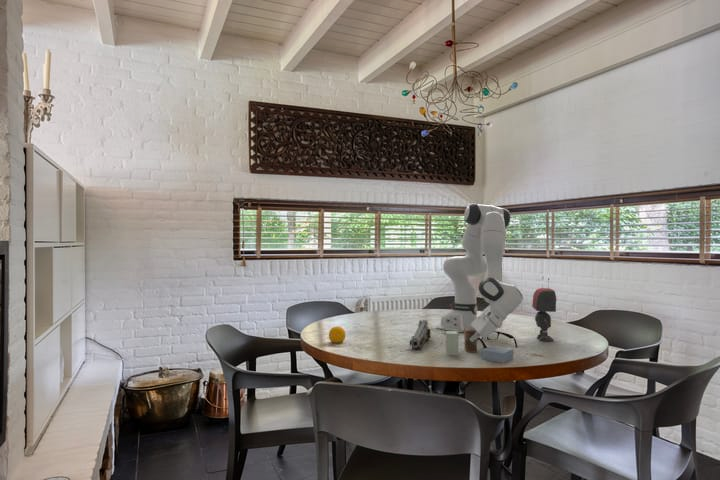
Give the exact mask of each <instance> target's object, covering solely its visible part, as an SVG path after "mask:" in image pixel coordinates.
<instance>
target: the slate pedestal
mask: <svg viewBox="0 0 720 480" xmlns="http://www.w3.org/2000/svg"><path fill="white" fill-rule="evenodd" d="M481 359H482V360H485V361H492V362H497V363H502V364H504V363H506V362H508V361H510V360H512V359H514V350H513V348H509V347H508V348H507V347H503V346H502V347H501V346H496V345H490V346H488V347H487V348H482V349H481Z"/></svg>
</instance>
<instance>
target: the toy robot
mask: <svg viewBox="0 0 720 480" xmlns="http://www.w3.org/2000/svg"><path fill="white" fill-rule="evenodd" d="M542 279H544V277H542ZM547 280H548V281H549V280H550V278H548V279H547ZM547 286H548V287H543V286H542V287H540V288H537V289H536V290H535V291H534V293H533V294H532V295H533V296H532V305H531V306H532V308H533V309H534V310H535V311H537V312H536V313H535V314H536V315H535V316H534V317H535V318H534V320H535V323H536V327H538V328H540V330H539V334H537V337H536V338H537V340H538V342H543V343H553V342H555V340H554V338H553V337H551V336H549V335H548V334H549V333H548V329H550V328H551V327H552V317H551V315H550V314H549V313H551V312H552V313H553V312H554V313H555V312H557V296H556V291H555V290H554V289H552V288H549V286H550V285H549V283H548V285H547ZM548 312H549V313H548Z"/></svg>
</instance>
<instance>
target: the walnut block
mask: <svg viewBox="0 0 720 480" xmlns="http://www.w3.org/2000/svg"><path fill="white" fill-rule="evenodd" d="M476 332H477V331H476V330H475V329H467V328H465V332H464V350H465V352H470V353H471V352H472V353H473V352H475V353H476V352H478V340H477V339H475V340H474V341H473V342H471V341H470V340H469V338H470V337H471V336H473V335H474V334H475V333H476Z"/></svg>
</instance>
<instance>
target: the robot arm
mask: <svg viewBox="0 0 720 480" xmlns="http://www.w3.org/2000/svg"><path fill="white" fill-rule="evenodd" d="M463 216H464V217H463V218H464V221H465V222H466V226H465V229H464V234H463V236H462V240H461V246H462V248H463V249H464V250H465V251H466V252H465V255H460V256H459V255H457V256H456V255H455V256H450V257H447V258H446V259H445V260H444V262H443V265H442V266H443V267H442V268H443V271H444V273H445V275H446V276H448V277H449V279H450V280H451V282H452V284H453V288H454V289H453V291H454V302H452V303H451V304H450V307H451V309H449V310H448V311H447V312H446V313H444V314H443V315H442V317H441V319H440V323H439V324H437V325H436V327H435V328H436V329H439V330H444V331H457V333H465V328H467V329H475V330H476V331H477V332H476V333H475V334H474V335H473V336H471V337H470V338H469V340H470V341H471V342H473V341H474V340H475V339H477V338H480V337H481V339H482V338H483V339H482V340H485V339H487V337H488V338H489V337H490V336H491V335H492V334H493V333H495V332H494V331H496V330H497V329H500V328H502V327H503V322H504V321H505V320H506V319H507V317H508V316H509V315H510V314H512V313H513V312H515V310H516V309H517V308H518V307H519V306H520V305H521V303H522V302H523V300H524V298H523V297H524V296H523V294H522V293H521V291H520V289H518V287H517V286H516V285H514V284H508V283H504V282H503V259H504V258H503V257H504V251H505V245H506V228H508V226H509V224H510V222H511V212H510V210H508V209H506V208H504V207H498V206H495V205H490V204H478V203H469V204H468V205H467V206H466V208H465V210H464V213H463ZM486 272H487V277H486V278H483V279H482V280H481V281H480V282H479V284H478V291H479V294H480V296H481V297H482V298H483V300H484V303H486V305H487V307H485V308H484V309H483V310H482V311H481V312H482V313H481V314H480V315H479V316H477V315H478V303H477V289H476V287H475V286H474V284H471V282H470V279H469V277H478V276H481V275H484V274H486Z"/></svg>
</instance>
